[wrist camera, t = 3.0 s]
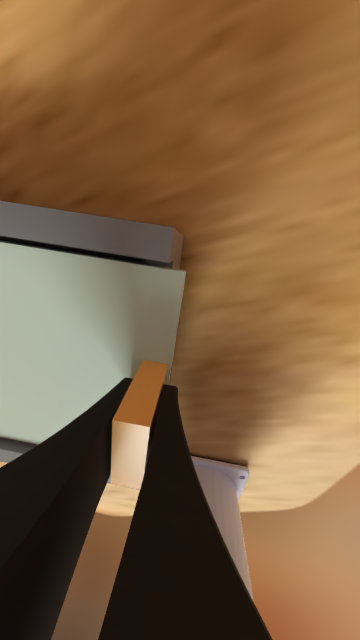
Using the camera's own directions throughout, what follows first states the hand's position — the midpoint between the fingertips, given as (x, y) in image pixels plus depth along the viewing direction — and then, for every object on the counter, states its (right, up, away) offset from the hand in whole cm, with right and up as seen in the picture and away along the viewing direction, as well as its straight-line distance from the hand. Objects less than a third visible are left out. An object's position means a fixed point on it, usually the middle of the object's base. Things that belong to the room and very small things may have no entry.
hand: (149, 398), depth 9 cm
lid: (-7, +2, +1) cm, 8 cm away
